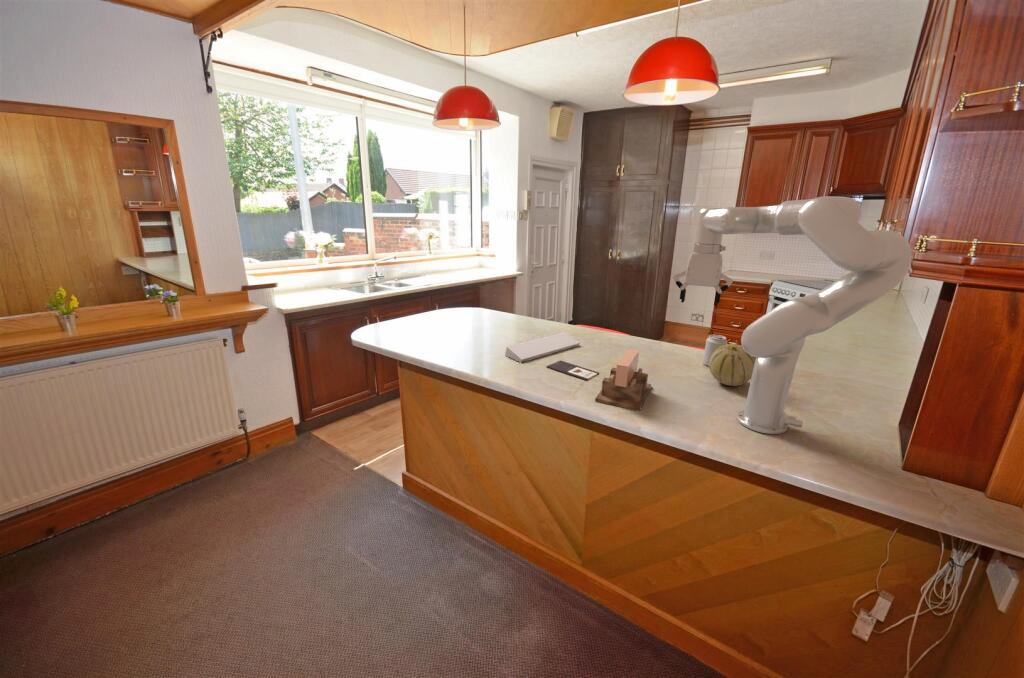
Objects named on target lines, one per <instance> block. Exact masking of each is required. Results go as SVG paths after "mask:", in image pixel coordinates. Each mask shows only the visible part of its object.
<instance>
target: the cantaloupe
mask: <svg viewBox="0 0 1024 678" xmlns="http://www.w3.org/2000/svg"><path fill="white" fill-rule="evenodd" d="M755 360H756V357H753V356H751V355H749V354H748V353H746V352H745V350H744V349H743V347H742V344H741V345H740V344H737V343H730V344H727V345H723V346H721V347H719V348H718V349H716V351H715V352H714V353H713V354H712V355H711V358H710V360H709V367H708V369H709V372H710V374H711V375H712V377H713V378H714V380H715V381H717V382H719V383H720V384H722V385H725V386H729V387H739V386H741V385H744V384H746V383H747V382H748V383H749V382H750V381H751V377H752V372H753V367H754V363H755Z"/></svg>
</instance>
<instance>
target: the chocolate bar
mask: <svg viewBox="0 0 1024 678" xmlns="http://www.w3.org/2000/svg"><path fill="white" fill-rule="evenodd" d="M545 368H547V369H548V370H549V369H550V370H553V371H555V372H558V373H561V374H564V375H567V376H570V377H573V378H576V379H578V380H582V381H588V380H590V379H592V378H594V377H595V376H598V375H599V374H600V372H598V371H595V370H592V369H589V368H585V367H583V366H580V365H577V364H572V363H570V362H566V361H563V360H558V361H556V362H553V363H551V364H549V365H546V367H545Z"/></svg>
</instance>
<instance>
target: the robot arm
mask: <svg viewBox="0 0 1024 678" xmlns="http://www.w3.org/2000/svg"><path fill="white" fill-rule="evenodd" d="M697 215H698V216H697V224H696V231H695V235H694V236H695V237H694V244H693V252H690V255H689V257H688V260H687V266H686V269H685V270H684V271H681V272H679V273H676V274H674V275H673V279H674V282H675V284H676V286H677V287H678V288H679V290H680V292H679V293H680V294H679V300H681V301H680V303H682V304H683V303H684V302H685V299H686V292H687V289H686V288H687V287H688V286H697V287H707V288H709V287H711V288H714V289H715V290H716V292H715V296H714V303H713V306H714V307H717V304H720V300H721V294H722V293H723V292H725V291H726V290H728V289H729V287H730V286H731V285H732V284H733V282H734V279H732V278H731V277H729V276H727V275H726V274H724V273H722V270H723V254H722V253H721V252H724V251H725V252H726V249H727V246H724V245H722V242H723V241H722V240H723V235H739V234H740V235H741V234H742V235H746V234H747V235H748V234H778V235H780V236H797V235H799V236H800V235H805V236H806V238H808V239H809V240H810V241H811V242H812V243H813V244H814V245H815V246H816V248H817V249H819V250H820V251H821V252H822V253H823V254H824V255H825V256H826V257H827V258H828V259H830V260H831V262H832V263H834V264H835V265H836V266H838V267H839V268H840V269H843V270H845V271H848V273H846V274H845V275H844V276H841V277H839V278H837V279H835V280H834V281H833V282H832V283H830V284H829V285H828V286H826V287H824V288H822V289H821V290H819V291H817V292H815V293H813V294H810V295H806V296H800V297H796V298H791V299H788V300H786V301H784V302H782V303H780V304H778V305H777V306H775V307H774V308H772V309H771V310H770V311H767V313H765V314H763V315H762V316H760V317H759V318H757V319H756V320H754V321H753V322H751V324H749V325H747V327H746V328H745V329H744V330H743V332H742V334H741V339H740V342H741V345H742V347H743V349H744V350H745V352H746V353H748V354H749V355H751V356H753V357H755V359H756V360H755V363H754V367H753V372H752V377H751V379H750V381H749V387H748V392H747V396H746V397H747V398H746V402H745V407H744V410H741V411H739V412H738V413H737V415H736V416H737V417H736V419H737V421H738V422H739V423H740V424H741V425H742V426H744V427H746V428H747V429H749V430H751V431H754V432H758V433H762V434H767V435H780V434H784V433H786V432H787V429H788V427H789V426H793V427H795V428H802V427H803V423H804V421H803V420H799V419H797V417H796V416H793V415H787V413H786V411H785V410H786V407H787V406H786V405H787V402H788V396H789V393H790V388H791V386H792V385H791V384H792V381H793V377H794V372H795V368H796V364H797V362H798V359H799V356H800V354H801V352H802V350H803V348H804V345H805V342H806V337H808V336H809V337H810V336H813V335H815V334H820V333H823V332H826V331H828V330H830V329H831V328H832V327H834V326H835V325H838V324H839V323H841V322H842V321H844V320H846V319H848V318H849V317H851V316H853V315H855V314H857V313H858V312H860V311H862V310H863V309H865V308H866V307H868V306H869V305H871V304H873V303H875V302H876V301H878V300H880V299H881V298H883V297H885V296H886V295H888V294H889V293H890V292H891V291H892V290H894V289H895V288H896V287H897V286H898V285H899V284H900V283H902V281H903V279H904V278H905V277H906V275H907V273H908V271H909V270H910V266H911V263H912V255H913V254H912V249H911V245H910V243H909V240H907V239H906V237H905V236H903V235H902V234H900V233H898V232H896V231H891V230H881V229H880V230H878V229H877V230H876V229H875V230H867V229H866V228H865V227H864V226H863V225H862V224H860V222H859V221H860V220H861V218H862V217H861V216H862V207H861V206H860V203H859V202H858V201H856V199H854V198H851V197H848V196H837V195H836V196H831V195H827V196H826V195H825V196H822V195H821V196H819V197H818V196H817V197H815V198H809V199H796V200H785V201H783V202H781V203H780V204H775V205H763V206H736V207H735V206H734V207H733V206H729V207H702V208H701V209H700V210H699V211H698V214H697ZM683 276H684V283H682V282H681V281H680V280H681V279H680V278H682V277H683ZM721 280H724V281H725V282H726V283H725V284H724V285H723V286H721V285H720V282H721Z"/></svg>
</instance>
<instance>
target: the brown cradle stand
mask: <svg viewBox="0 0 1024 678" xmlns="http://www.w3.org/2000/svg"><path fill="white" fill-rule="evenodd" d="M616 368H617V367H612V368H611V370H610V371H609V373H610V375H609V376H608V377H604V378H603V379H602V382H601V383H602V384H601V390H600V392H599V393H597V395H596V397H595V398H594V401H595V402H597V403H603V404H606V405H610V406H615V407H619V408H624V409H628V408H629V410H633V409H634V411H637V410H638V412H640V411H641V409H640V408H642V406H643V405H644V402H645V400H646V398H647V396H648V394H649V392H650V390H651V388H652V384H651V383H648V378H649V373H644V372H643V368H641V367H640V368H638V369H637V371H636V372H635V374H634V376H633V377H632V379H631V380H630V382H629V383H628V385H627V387H622V386H617V385H615V379H616ZM639 410H640V411H639Z"/></svg>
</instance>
